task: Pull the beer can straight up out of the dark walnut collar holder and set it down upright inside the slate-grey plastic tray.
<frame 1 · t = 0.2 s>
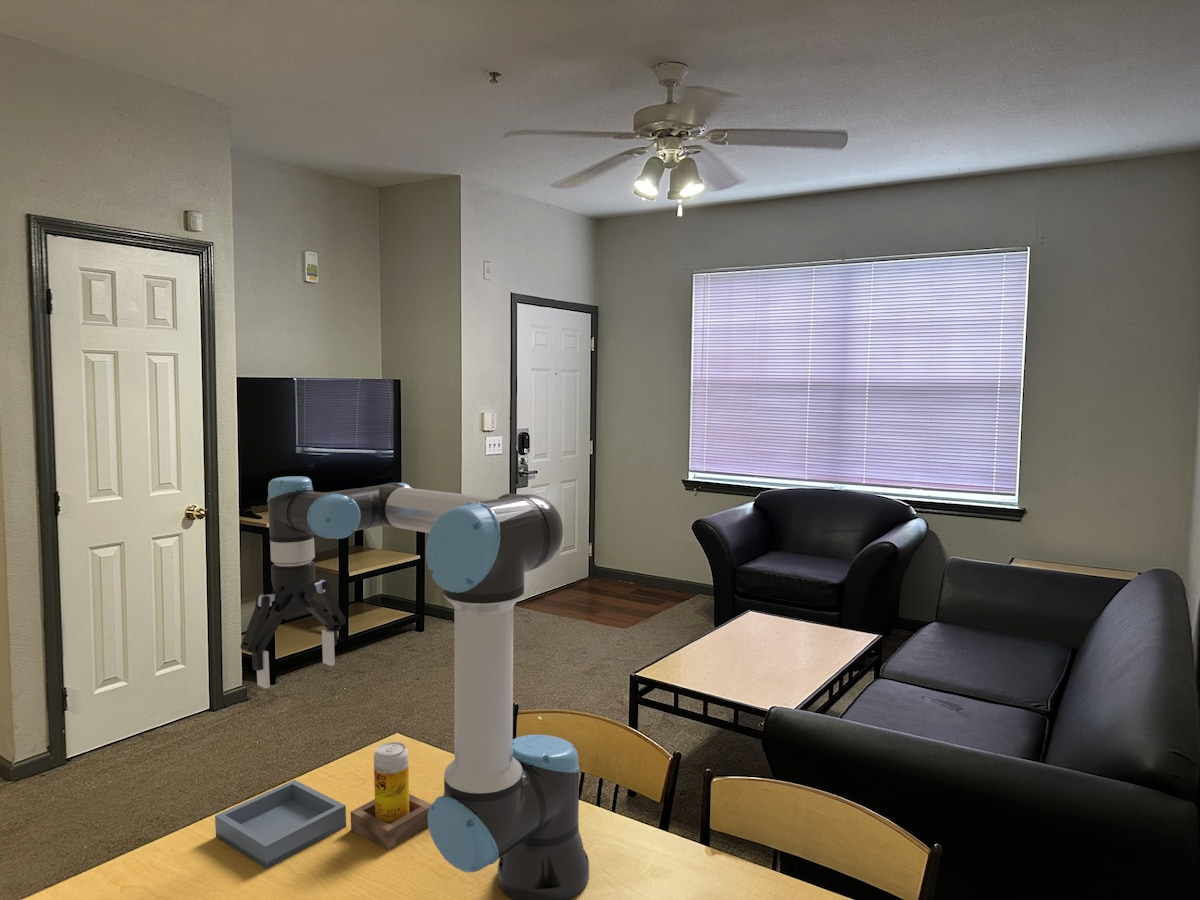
hand: (297, 674, 150), 28 cm above the table, fingers open, 13 cm apart
collar holder: (392, 826, 150), on the table
beer can: (392, 827, 150), resting in collar holder
tray: (281, 831, 148), on the table
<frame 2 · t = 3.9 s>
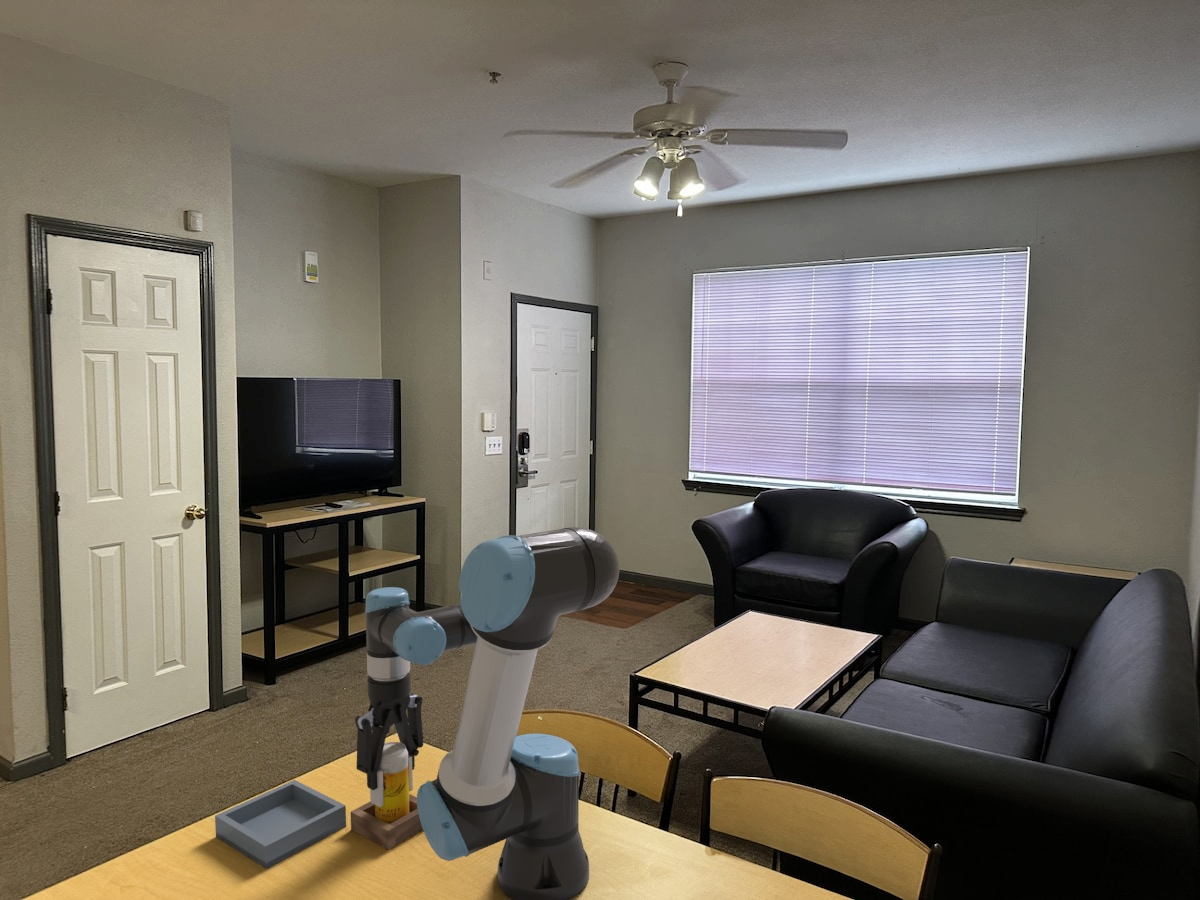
hand: (392, 795, 149), 6 cm above the table, fingers closed on beer can, 6 cm apart
beer can: (392, 827, 150), resting in collar holder, touching gripper
everything else where it was.
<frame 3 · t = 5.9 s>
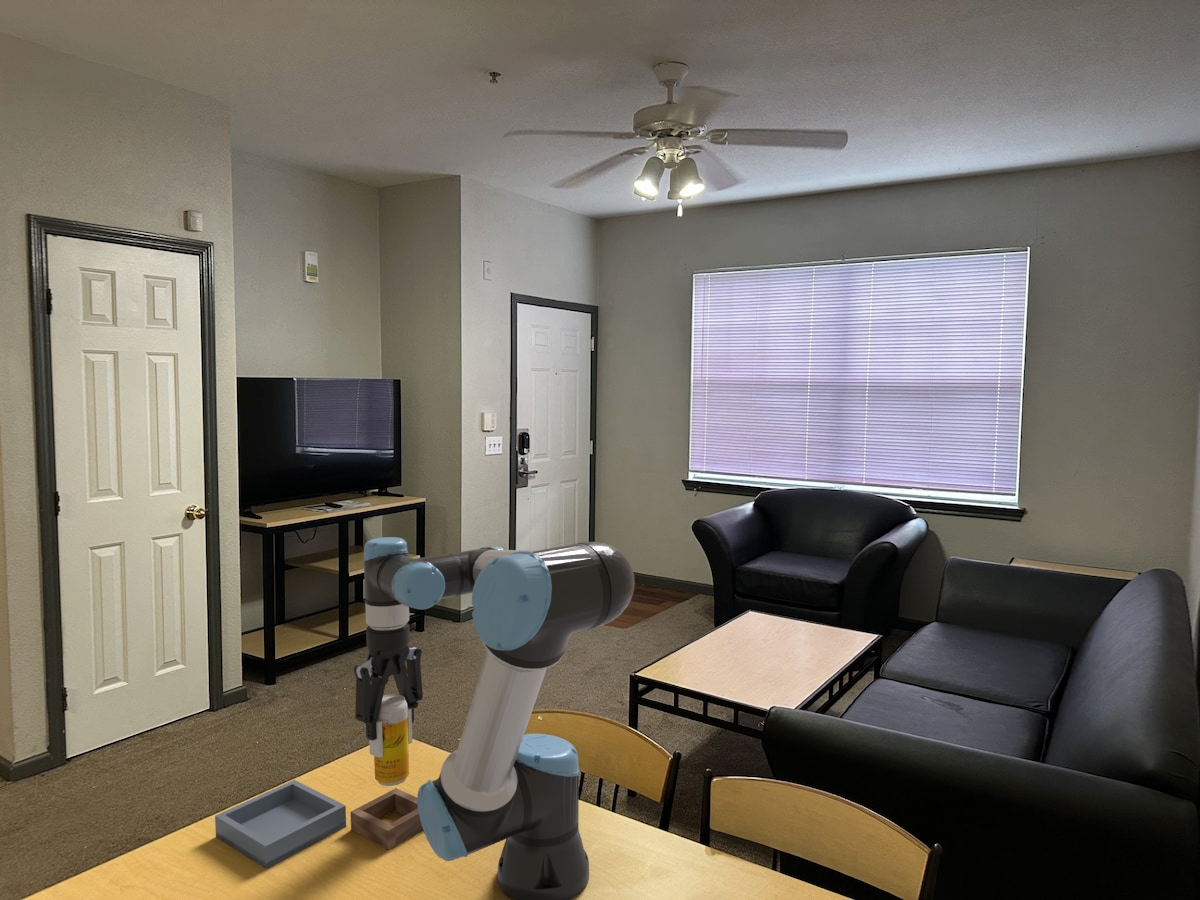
hand: (391, 748, 148), 15 cm above the table, fingers closed on beer can, 6 cm apart
beer can: (392, 780, 149), point 9 cm above the table, touching gripper
everything else where it was.
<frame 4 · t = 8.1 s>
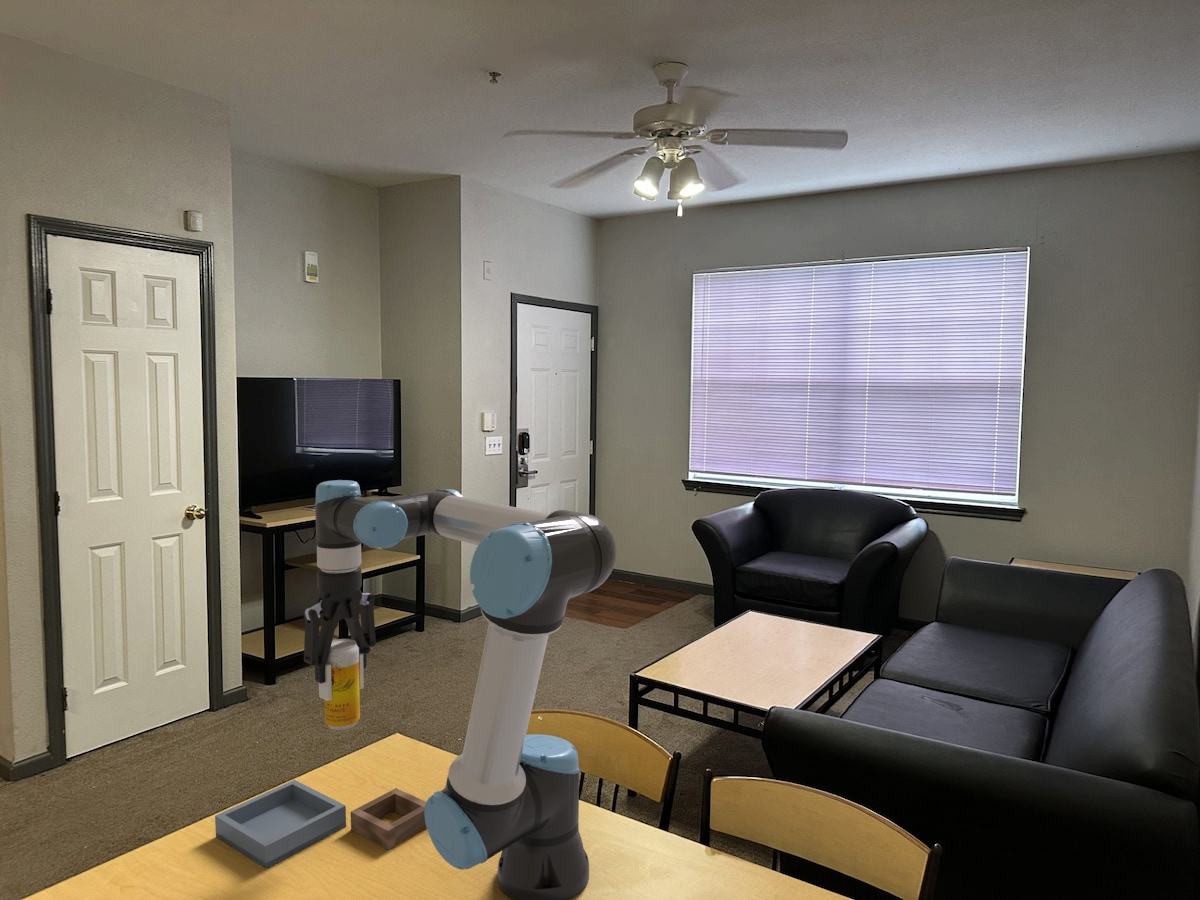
hand: (341, 692, 147), 26 cm above the table, fingers closed on beer can, 6 cm apart
beer can: (342, 724, 148), point 19 cm above the table, touching gripper
everything else where it was.
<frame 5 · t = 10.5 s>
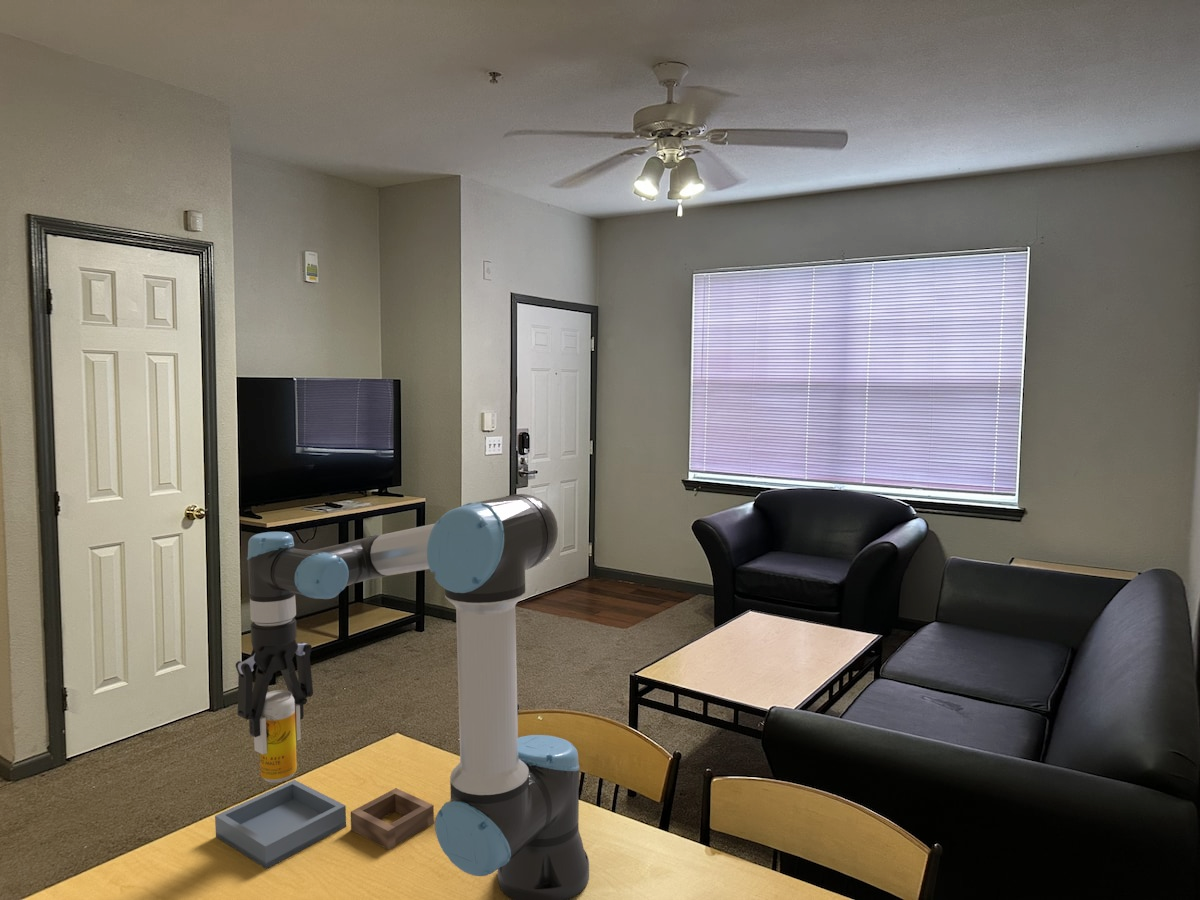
hand: (278, 744, 147), 16 cm above the table, fingers closed on beer can, 6 cm apart
beer can: (279, 776, 147), point 10 cm above the table, touching gripper
everything else where it was.
when the fingers open (8 cm above the table, at t = 12.4 s): beer can stays where it is, resting on tray.
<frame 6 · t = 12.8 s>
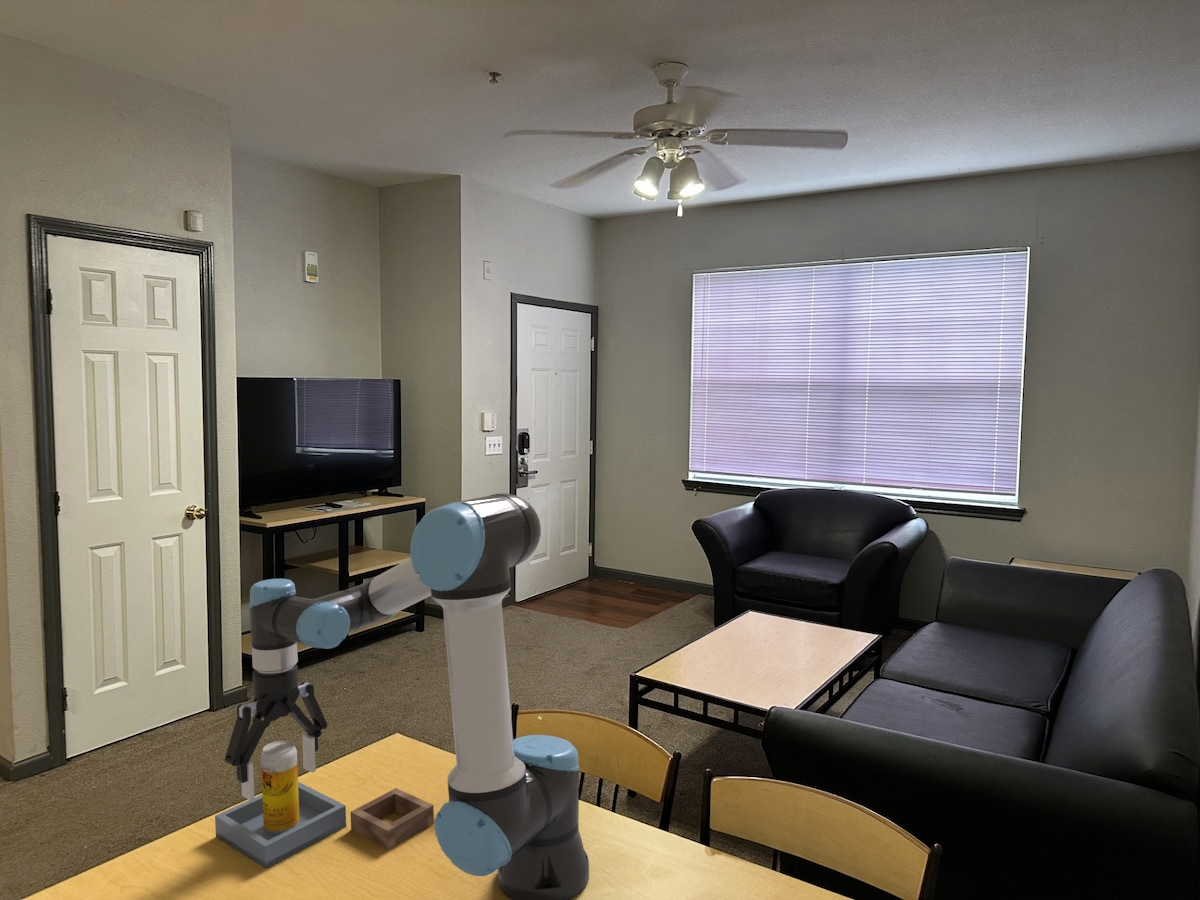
hand: (279, 783, 147), 9 cm above the table, fingers open, 11 cm apart
beer can: (281, 827, 148), point 1 cm above the table, touching tray
everything else where it was.
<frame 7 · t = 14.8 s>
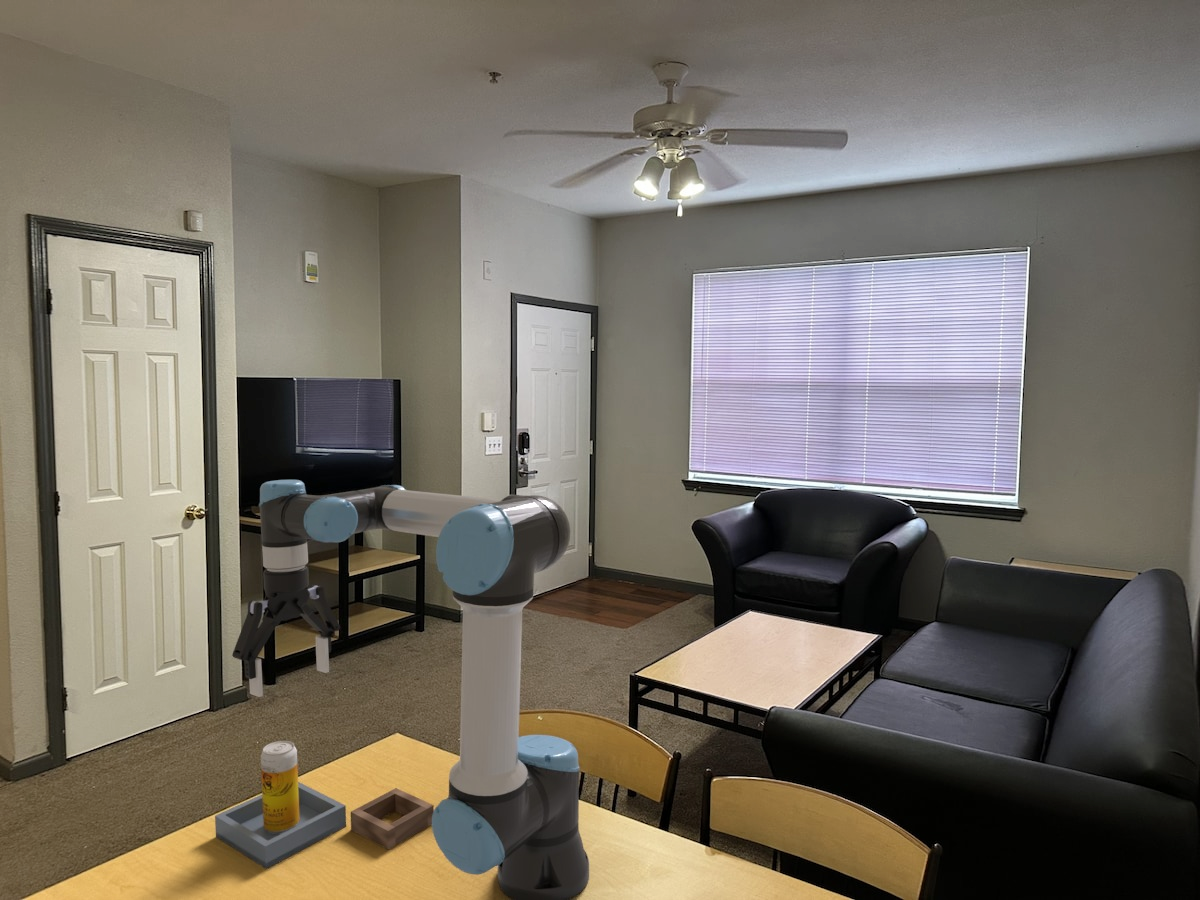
hand: (291, 682, 147), 27 cm above the table, fingers open, 13 cm apart
nothing on the table moved.
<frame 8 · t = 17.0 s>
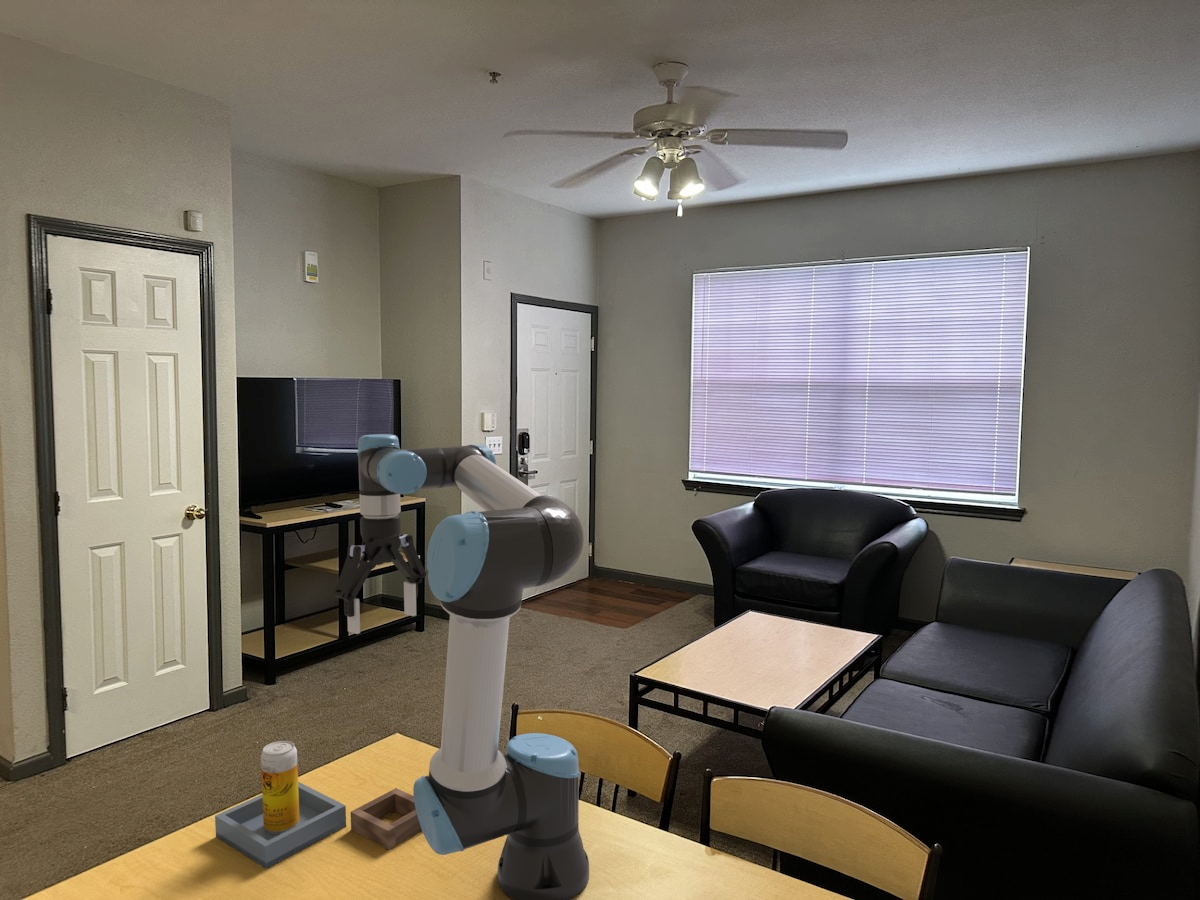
hand: (383, 623, 158), 35 cm above the table, fingers open, 13 cm apart
nothing on the table moved.
at the end: beer can inside the target area on the tray (0.1 cm from its centre), point 0.8 cm above the tray's base; beer can tilted 0°; the gripper is holding nothing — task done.
